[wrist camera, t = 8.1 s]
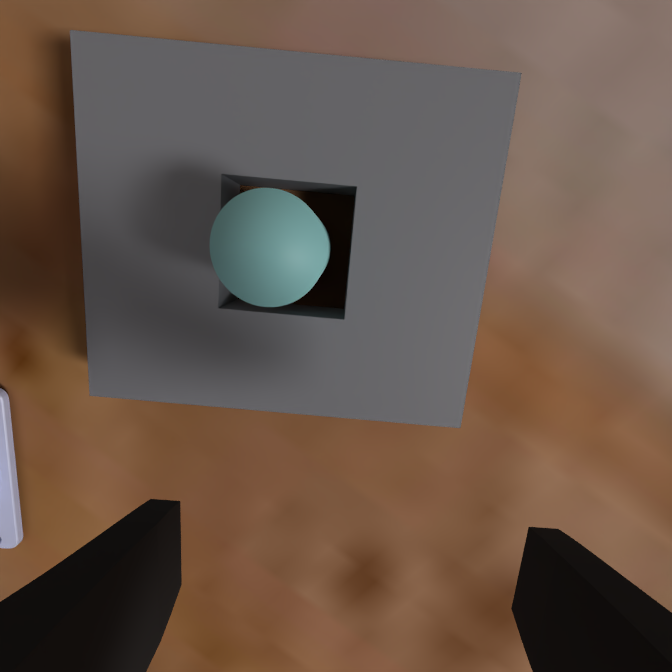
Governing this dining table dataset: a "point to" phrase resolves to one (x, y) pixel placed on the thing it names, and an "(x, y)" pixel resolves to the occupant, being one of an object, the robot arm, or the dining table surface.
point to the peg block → (294, 174)
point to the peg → (268, 247)
